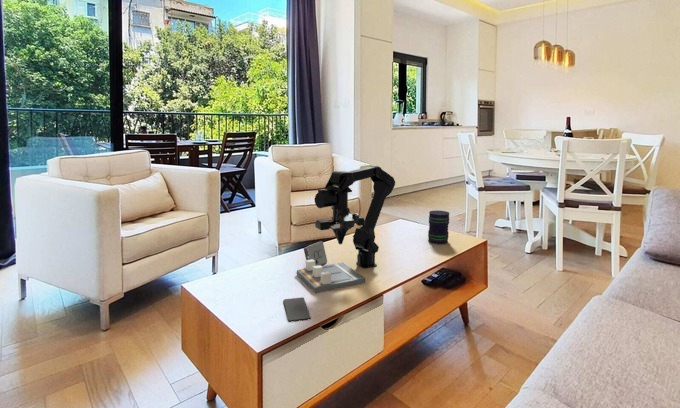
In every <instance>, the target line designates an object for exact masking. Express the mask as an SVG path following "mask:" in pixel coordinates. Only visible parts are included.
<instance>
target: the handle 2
mask: <svg viewBox="0 0 680 408" xmlns="http://www.w3.org/2000/svg"><path fill="white" fill-rule="evenodd" d="M321 283H322V284H323V285H324V284H330V283H331V273H330V272H323V273H321Z"/></svg>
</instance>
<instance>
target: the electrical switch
mask: <svg viewBox="0 0 680 408" xmlns="http://www.w3.org/2000/svg"><path fill="white" fill-rule="evenodd" d="M303 252H304V257H305V261H306V260H311V259H313V260H314V261H315V266H318V265H321V266H323V265H324V264H327V263H328V259H327V258H328V257H327V254H326V250H325V243H324V241H318V242H315V243H312V244H310V245H307V246H306V247H304V248H303Z"/></svg>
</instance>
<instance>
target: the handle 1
mask: <svg viewBox="0 0 680 408" xmlns="http://www.w3.org/2000/svg"><path fill="white" fill-rule="evenodd" d="M313 266H315V261H314V260H313V259H311V260H306V259H305V269H307V270H308V271H311V270H313Z"/></svg>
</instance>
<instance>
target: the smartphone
mask: <svg viewBox="0 0 680 408" xmlns="http://www.w3.org/2000/svg"><path fill="white" fill-rule="evenodd" d="M283 305H284V309H285V314H286V318H287V322H289V323H292V322H291V321H294V322H300V321H301V320H302V321H309V320H308V319H310V320H311V319H312V317H311V315H310V312H309V309H308V306H307V302H306V300H305V298H304V297H303V296H302V297H293V298H285V299H283ZM299 320H300V321H299Z"/></svg>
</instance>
